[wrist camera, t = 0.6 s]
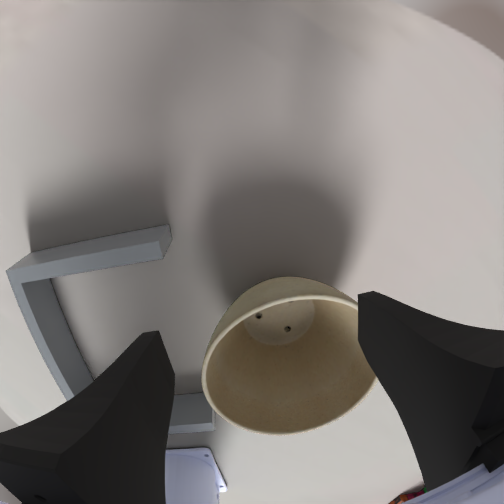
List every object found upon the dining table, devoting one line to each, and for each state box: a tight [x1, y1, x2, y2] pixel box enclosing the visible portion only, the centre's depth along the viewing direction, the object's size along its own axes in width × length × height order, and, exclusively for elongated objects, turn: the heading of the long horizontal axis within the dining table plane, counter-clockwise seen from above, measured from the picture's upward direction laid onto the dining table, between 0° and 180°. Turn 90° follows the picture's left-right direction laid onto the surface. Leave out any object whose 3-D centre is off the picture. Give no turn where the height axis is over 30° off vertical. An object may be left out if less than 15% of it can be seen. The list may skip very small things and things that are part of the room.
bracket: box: [6, 224, 215, 434], centre depth 21 cm, size 15×11×4 cm
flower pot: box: [201, 277, 378, 436], centre depth 19 cm, size 10×10×7 cm
